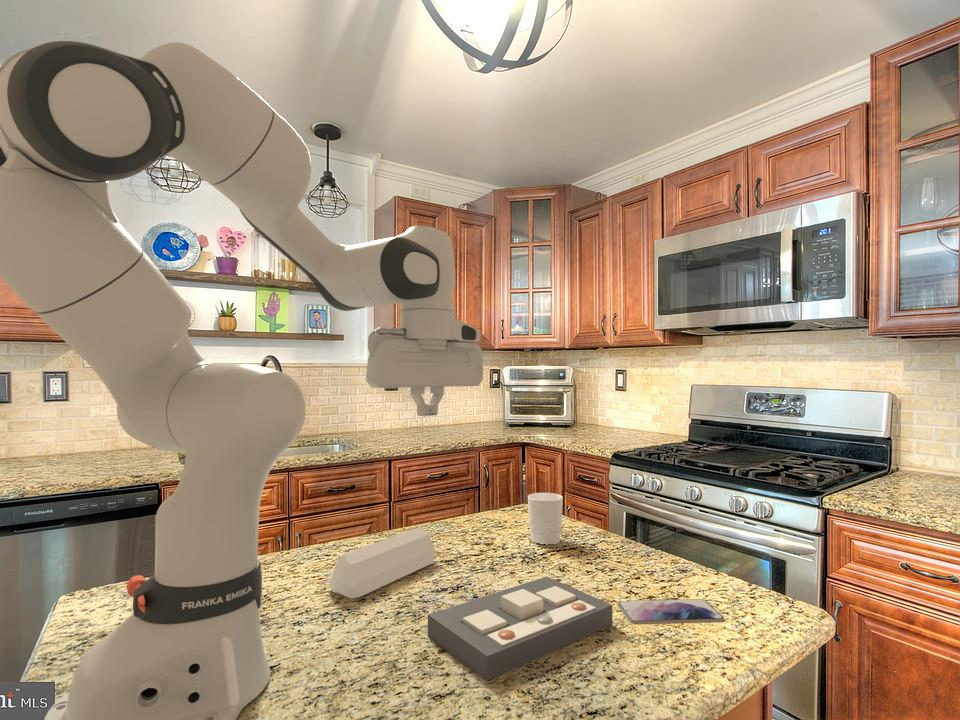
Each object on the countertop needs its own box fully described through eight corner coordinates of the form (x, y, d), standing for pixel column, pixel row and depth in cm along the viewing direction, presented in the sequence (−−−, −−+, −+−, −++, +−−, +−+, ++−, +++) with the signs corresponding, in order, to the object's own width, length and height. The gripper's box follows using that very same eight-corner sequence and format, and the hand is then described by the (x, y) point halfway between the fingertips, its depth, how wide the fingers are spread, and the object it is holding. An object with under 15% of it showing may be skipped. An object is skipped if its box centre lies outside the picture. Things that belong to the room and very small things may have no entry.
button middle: (520, 627, 75) (520, 606, 75) (501, 616, 78) (501, 596, 79) (543, 619, 78) (543, 598, 78) (523, 608, 81) (523, 588, 81)
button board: (487, 680, 65) (487, 652, 65) (427, 635, 76) (427, 611, 76) (612, 625, 80) (612, 602, 80) (547, 593, 91) (547, 573, 91)
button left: (481, 652, 71) (481, 630, 71) (462, 639, 74) (462, 617, 74) (506, 642, 73) (506, 620, 73) (487, 630, 77) (487, 609, 77)
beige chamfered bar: (357, 584, 85) (448, 544, 105) (331, 554, 89) (424, 521, 109) (341, 618, 87) (433, 573, 107) (317, 587, 91) (411, 549, 111)
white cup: (553, 548, 114) (553, 502, 114) (521, 542, 118) (521, 497, 119) (568, 539, 121) (568, 495, 121) (537, 533, 125) (537, 491, 125)
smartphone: (726, 619, 81) (631, 621, 80) (726, 624, 81) (631, 627, 80) (704, 598, 88) (616, 600, 87) (704, 603, 88) (616, 605, 87)
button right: (555, 622, 79) (555, 602, 79) (535, 612, 83) (535, 592, 83) (575, 614, 82) (575, 595, 82) (555, 604, 85) (555, 586, 85)
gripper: (377, 325, 77) (377, 420, 76) (488, 331, 89) (488, 413, 89) (359, 327, 82) (358, 417, 81) (466, 333, 94) (466, 411, 94)
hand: (427, 415), depth 85 cm, fingers closed
